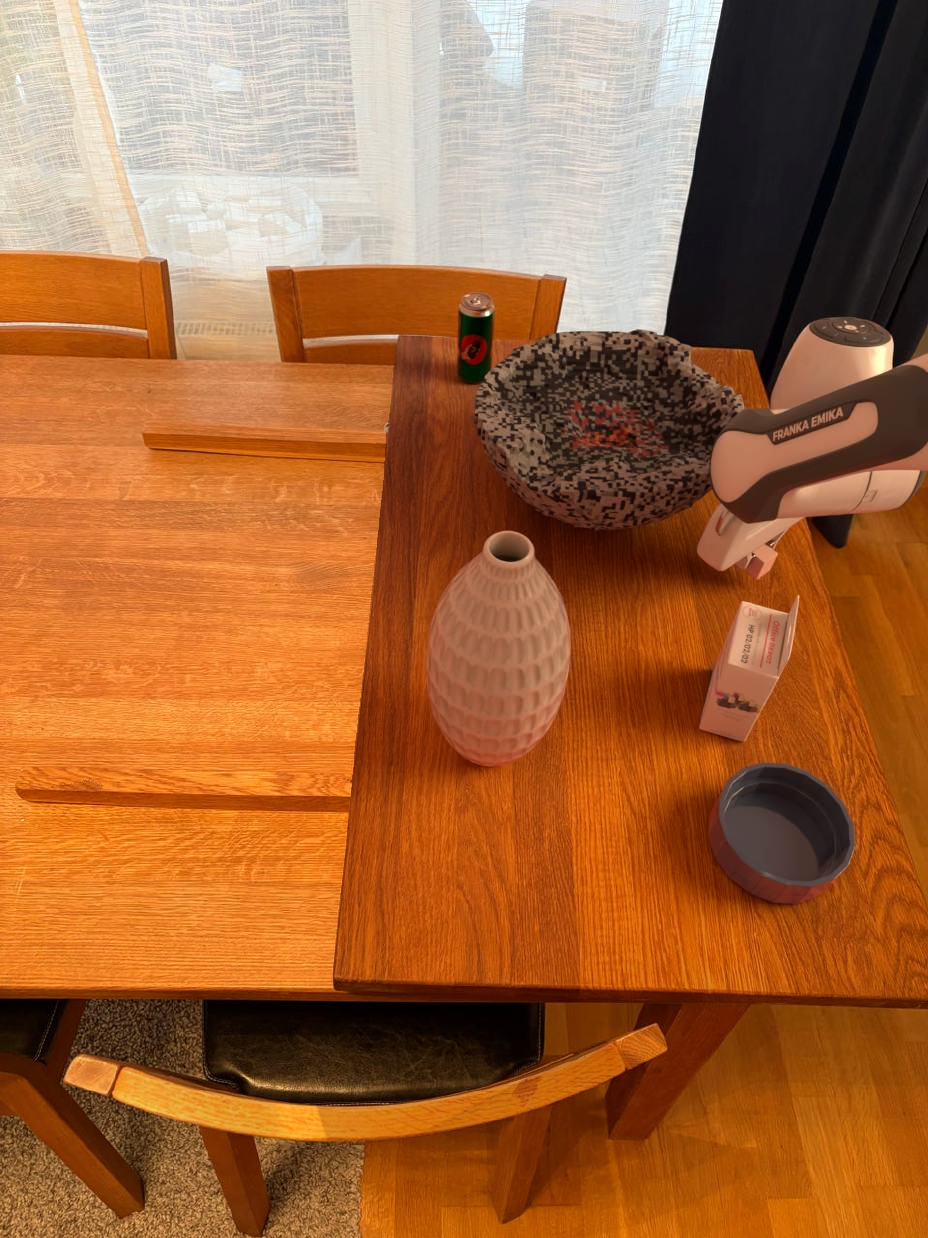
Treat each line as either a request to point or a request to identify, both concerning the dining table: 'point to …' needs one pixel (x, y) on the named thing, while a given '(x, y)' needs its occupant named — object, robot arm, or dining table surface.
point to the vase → (498, 653)
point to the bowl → (603, 426)
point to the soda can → (475, 337)
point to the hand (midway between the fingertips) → (752, 556)
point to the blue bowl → (780, 833)
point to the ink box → (747, 669)
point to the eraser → (761, 561)
